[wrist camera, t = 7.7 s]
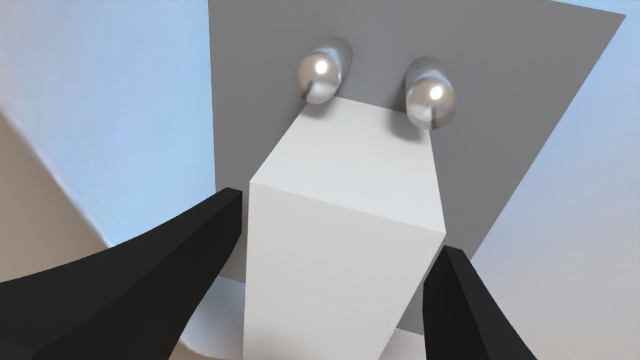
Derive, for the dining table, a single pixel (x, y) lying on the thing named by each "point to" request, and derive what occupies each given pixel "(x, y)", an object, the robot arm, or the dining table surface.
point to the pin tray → (404, 89)
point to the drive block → (339, 233)
